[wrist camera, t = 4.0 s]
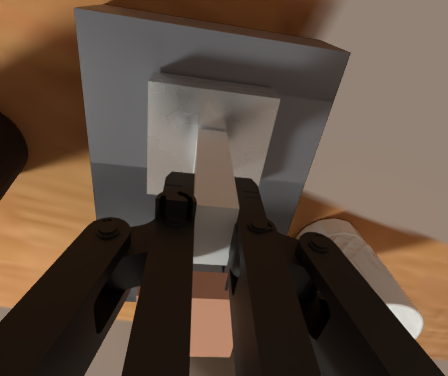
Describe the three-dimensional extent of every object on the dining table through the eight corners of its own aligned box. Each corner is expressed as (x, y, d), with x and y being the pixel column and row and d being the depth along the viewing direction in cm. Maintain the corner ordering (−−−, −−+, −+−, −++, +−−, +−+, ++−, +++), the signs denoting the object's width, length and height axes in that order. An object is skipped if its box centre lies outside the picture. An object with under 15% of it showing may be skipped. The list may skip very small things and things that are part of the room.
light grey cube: (162, 57, 19) (148, 80, 14) (260, 71, 20) (280, 99, 15) (159, 148, 22) (146, 193, 17) (243, 157, 23) (254, 203, 18)
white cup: (377, 240, 31) (441, 332, 22) (315, 278, 34) (352, 373, 25) (335, 198, 28) (392, 288, 19) (270, 245, 30) (296, 341, 22)
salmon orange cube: (151, 226, 22) (136, 295, 17) (237, 232, 23) (246, 300, 18) (150, 283, 25) (137, 355, 20) (224, 287, 26) (229, 357, 21)
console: (103, 4, 18) (73, 7, 14) (319, 40, 20) (350, 52, 16) (118, 257, 30) (105, 300, 26) (253, 265, 32) (261, 307, 28)
